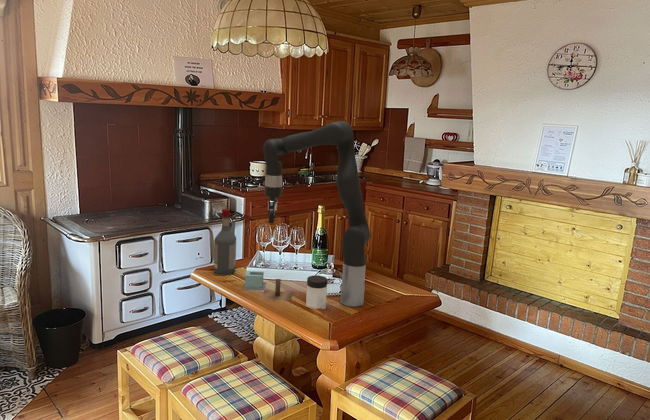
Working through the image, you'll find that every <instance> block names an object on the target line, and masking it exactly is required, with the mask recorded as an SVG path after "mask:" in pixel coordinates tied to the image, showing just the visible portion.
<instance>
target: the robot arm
mask: <svg viewBox="0 0 650 420" xmlns="http://www.w3.org/2000/svg"><path fill="white" fill-rule="evenodd" d="M354 137H355V136H354V131H353V127H352V126H351V124H350V123H349V122H347V121H345V120H340V121H332V122H331V123H328V124H326V125H324V126H322V127H319V128H317V129H314V130H311V131H306V132H305V131H303V132H299V133H295V134H290V135H287V136H285V137H282V138H271V139H270V138H269V139H267V140H266V141H265V142H264V144H263V148H262V151H263V156H264V157H263V158H264V162H265V165H266V166H265V179H264V196H266V197H269V199H268V200H267V211H268V212H267V214H268V224H273V225H274V224H275V219H276V214H277V212H276V211H277V208H278V203H279V202H278V198H279V197H281V196H282V195H283V163H282V162H281V161H279V160H278V156H282V155H286V154H289V153H294V152H300V151H303V150H307V149H310V148H313V147H317V146H329V145H331V146H336V148H337V154H338V161H337V162H338V164H337V168H336V178H335V179H336V185H337V191H338V197H339V198H340V200H341V202H342V204H343V206H344V209H345V210H346V213H347V217H348V224H349V225H348V226H349V227H347V229H346V230H345V231H344V233H343V237H342V254H341V255H342V258H343V264H342V276H341V277H342V278H341V292H340V303H341V305H344V306H346V307H351V308H352V307H355V308H357V307H360V306H361V307H362V306H364V298H365V290H366V289H365V286H366V283H365V277H366V267H367V266H366V265H367V257H366V256H365V246H366V244H368V242H369V241H370V238H371V231H370V227H369V224H368V220H367V216H366V213H365V208H364V206H365V205H364V200H363V193H362V187H361V182H360V176H359V171H358V170H359V169H358V164H357V163H358V162H357V159H356V152H355V139H354Z"/></svg>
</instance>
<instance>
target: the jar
mask: <svg viewBox="0 0 650 420" xmlns="http://www.w3.org/2000/svg"><path fill="white" fill-rule="evenodd" d="M305 293H306V298H305V305H306V307H308V308H311V309H315V310H319V309H321V310H326V308H327V293H328V278H327V277H325V276H323V275H318V274H317V275H316V274H315V275H314V274H313V275H309V276H308V277H307V278H306V292H305Z"/></svg>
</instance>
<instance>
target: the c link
mask: <svg viewBox="0 0 650 420" xmlns="http://www.w3.org/2000/svg"><path fill="white" fill-rule="evenodd" d="M264 274H265V273H264V271H260V270H257V271H256V270H247V271H246V272H245V275H244V286H245V288H262V284H263V282H264Z"/></svg>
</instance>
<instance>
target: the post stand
mask: <svg viewBox="0 0 650 420" xmlns="http://www.w3.org/2000/svg"><path fill="white" fill-rule="evenodd" d="M281 281H282V280H281V279H280V278H276V279H275V291H274V290H263V294H262V297H261V299H262V300H270V301H271V300H272V301H274V300H275V301H290V302H291V301H292V300H293V299H292V297H293V291H281V284H282V283H281Z"/></svg>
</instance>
